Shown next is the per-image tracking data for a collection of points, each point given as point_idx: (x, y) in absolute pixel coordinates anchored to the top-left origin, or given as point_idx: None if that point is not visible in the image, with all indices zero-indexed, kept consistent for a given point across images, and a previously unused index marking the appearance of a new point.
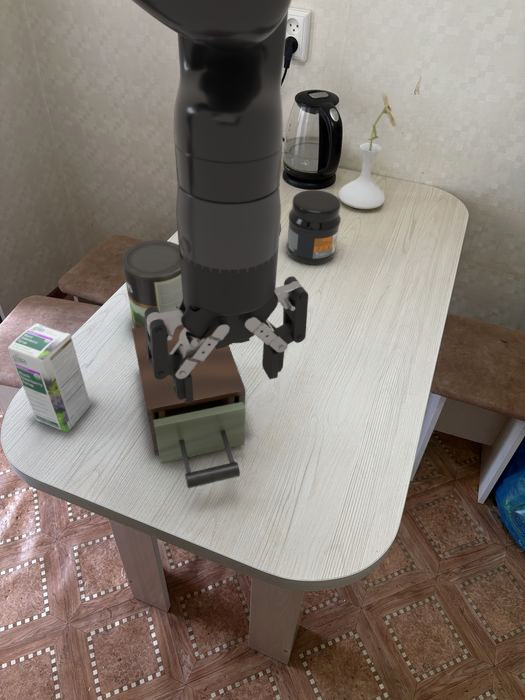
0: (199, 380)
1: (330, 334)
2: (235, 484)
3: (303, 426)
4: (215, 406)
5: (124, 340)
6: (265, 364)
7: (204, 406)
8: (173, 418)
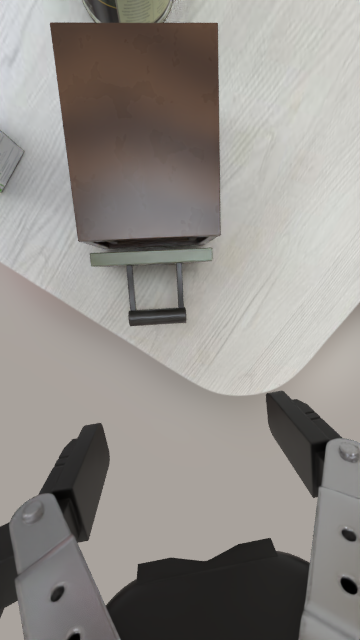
0: (158, 199)
1: None
2: None
3: (270, 246)
4: None
5: (63, 9)
6: (275, 415)
7: None
8: (116, 257)
